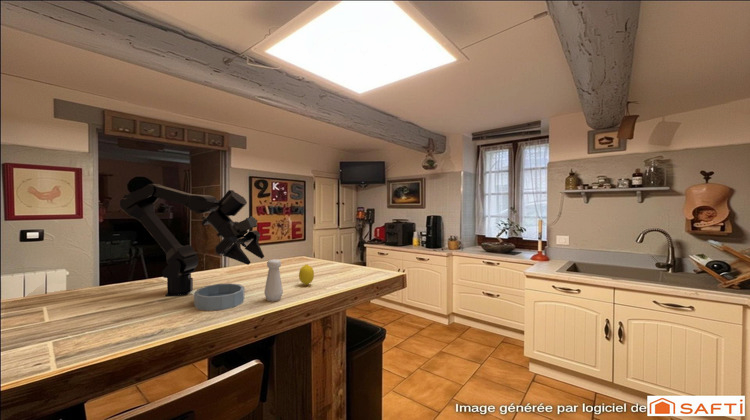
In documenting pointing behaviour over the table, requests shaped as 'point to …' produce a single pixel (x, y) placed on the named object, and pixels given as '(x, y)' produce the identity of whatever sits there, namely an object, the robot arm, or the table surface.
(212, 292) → the bowl
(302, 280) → the lemon
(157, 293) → the table surface
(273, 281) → the salt shaker
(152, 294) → the table surface
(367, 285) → the table surface
